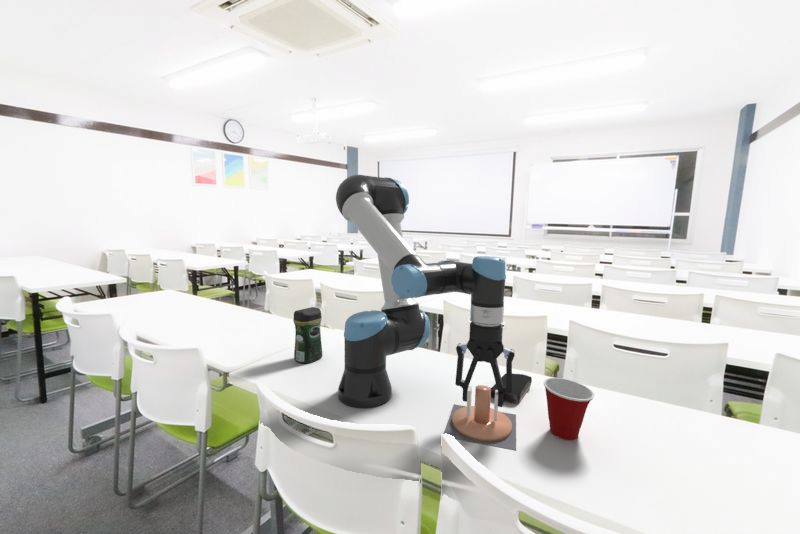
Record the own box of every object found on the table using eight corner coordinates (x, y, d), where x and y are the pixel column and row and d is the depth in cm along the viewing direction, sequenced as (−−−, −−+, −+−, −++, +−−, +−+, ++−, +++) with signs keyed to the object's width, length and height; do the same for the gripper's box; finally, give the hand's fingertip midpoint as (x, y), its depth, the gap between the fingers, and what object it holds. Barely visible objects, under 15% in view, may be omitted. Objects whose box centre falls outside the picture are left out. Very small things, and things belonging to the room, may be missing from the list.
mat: (442, 438, 84) (442, 436, 84) (453, 406, 99) (453, 404, 99) (515, 452, 79) (516, 450, 79) (515, 416, 94) (515, 414, 94)
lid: (447, 434, 84) (449, 396, 83) (456, 406, 97) (458, 373, 96) (511, 446, 80) (513, 406, 79) (511, 415, 93) (513, 381, 92)
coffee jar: (311, 353, 137) (310, 304, 135) (325, 357, 133) (325, 307, 131) (289, 360, 129) (289, 309, 127) (304, 365, 125) (304, 312, 123)
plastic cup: (593, 454, 79) (597, 401, 78) (539, 441, 83) (542, 391, 82) (588, 428, 89) (592, 381, 88) (540, 419, 93) (543, 373, 92)
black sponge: (518, 408, 99) (518, 395, 98) (487, 400, 103) (488, 387, 103) (532, 387, 112) (533, 376, 112) (505, 380, 117) (506, 369, 117)
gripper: (443, 322, 85) (440, 417, 88) (529, 330, 80) (522, 431, 82) (449, 315, 92) (446, 402, 95) (527, 322, 87) (522, 415, 89)
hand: (481, 415), depth 88 cm, fingers open, 6 cm apart
